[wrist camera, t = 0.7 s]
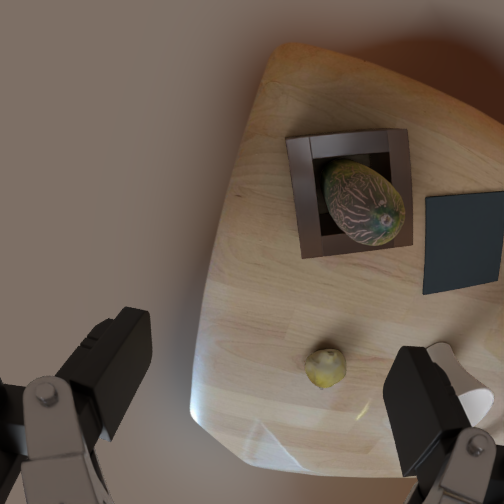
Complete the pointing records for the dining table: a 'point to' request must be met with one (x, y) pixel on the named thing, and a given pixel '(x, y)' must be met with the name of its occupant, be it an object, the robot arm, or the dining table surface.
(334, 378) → the fruit
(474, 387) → the cup
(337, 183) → the vegetable
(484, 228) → the mat
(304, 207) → the holder
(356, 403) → the dining table surface
